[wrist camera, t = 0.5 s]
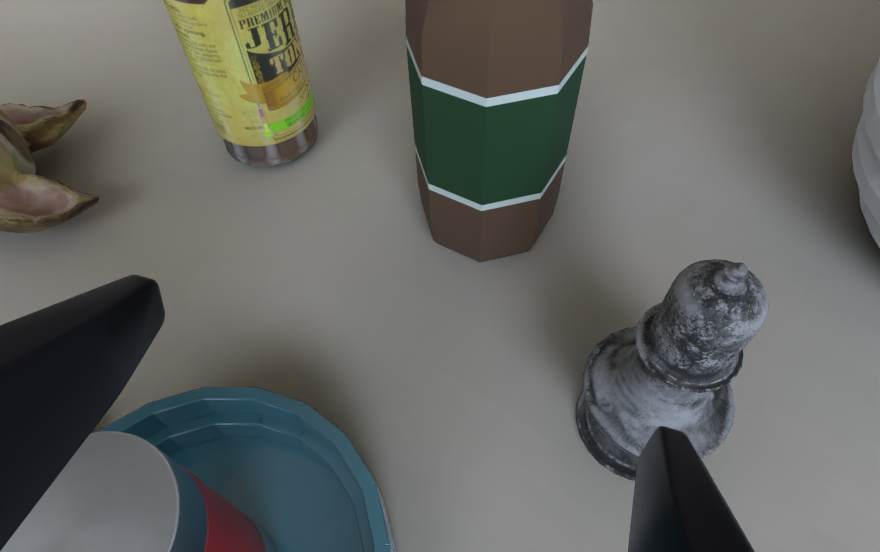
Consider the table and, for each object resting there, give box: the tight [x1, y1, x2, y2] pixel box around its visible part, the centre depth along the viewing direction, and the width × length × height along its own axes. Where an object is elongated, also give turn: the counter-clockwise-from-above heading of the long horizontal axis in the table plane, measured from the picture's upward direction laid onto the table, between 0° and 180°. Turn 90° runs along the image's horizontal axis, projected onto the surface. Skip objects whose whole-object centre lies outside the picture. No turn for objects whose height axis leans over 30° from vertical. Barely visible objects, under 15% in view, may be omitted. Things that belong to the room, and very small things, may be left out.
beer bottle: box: [406, 0, 593, 262], centre depth 24 cm, size 8×8×24 cm
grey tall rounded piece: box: [577, 259, 768, 480], centre depth 21 cm, size 6×6×12 cm
